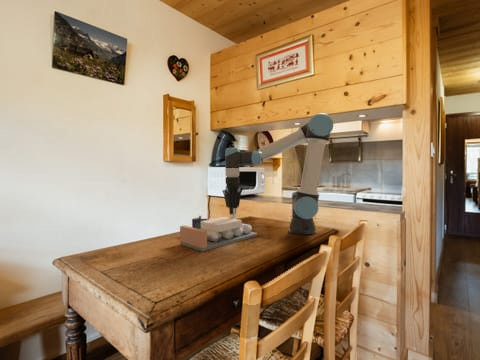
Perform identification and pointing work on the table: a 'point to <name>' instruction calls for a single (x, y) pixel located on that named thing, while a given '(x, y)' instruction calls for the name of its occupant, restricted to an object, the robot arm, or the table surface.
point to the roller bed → (199, 241)
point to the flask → (197, 222)
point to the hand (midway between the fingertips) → (232, 219)
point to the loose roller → (213, 235)
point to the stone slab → (221, 224)
